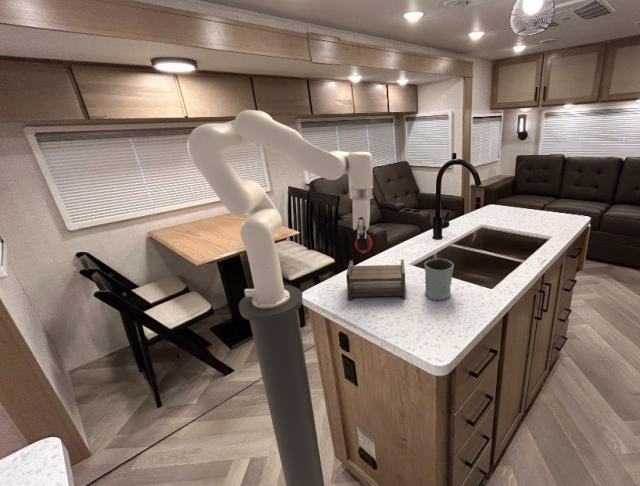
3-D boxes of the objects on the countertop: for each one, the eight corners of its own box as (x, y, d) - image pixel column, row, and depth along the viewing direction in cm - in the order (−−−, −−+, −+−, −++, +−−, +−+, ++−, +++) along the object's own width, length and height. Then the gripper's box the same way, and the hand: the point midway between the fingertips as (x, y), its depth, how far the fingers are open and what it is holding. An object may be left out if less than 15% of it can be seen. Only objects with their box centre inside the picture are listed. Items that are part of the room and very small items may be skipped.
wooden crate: (348, 300, 112) (346, 274, 108) (351, 284, 123) (349, 260, 119) (405, 298, 113) (405, 273, 109) (403, 283, 124) (403, 259, 120)
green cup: (424, 301, 111) (425, 270, 107) (422, 287, 121) (423, 257, 116) (453, 301, 111) (455, 270, 106) (449, 287, 120) (451, 257, 116)
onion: (376, 253, 109) (375, 231, 106) (362, 258, 105) (361, 235, 102) (365, 248, 113) (364, 227, 110) (352, 253, 109) (350, 231, 106)
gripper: (352, 187, 109) (355, 237, 116) (346, 199, 93) (349, 256, 100) (374, 187, 109) (375, 237, 116) (371, 199, 93) (373, 255, 100)
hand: (363, 245), depth 108 cm, fingers closed on onion, 5 cm apart
